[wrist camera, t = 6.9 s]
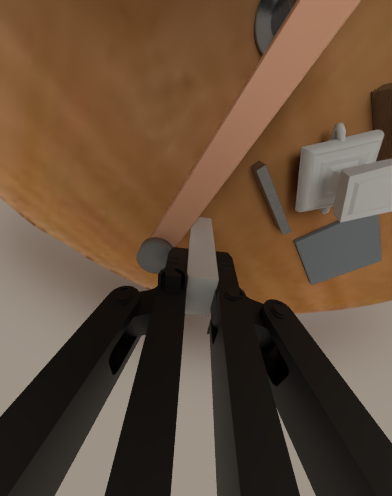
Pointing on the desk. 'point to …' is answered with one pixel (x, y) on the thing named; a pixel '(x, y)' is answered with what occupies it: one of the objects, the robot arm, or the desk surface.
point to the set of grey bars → (383, 99)
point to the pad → (340, 248)
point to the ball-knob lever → (248, 118)
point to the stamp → (345, 176)
